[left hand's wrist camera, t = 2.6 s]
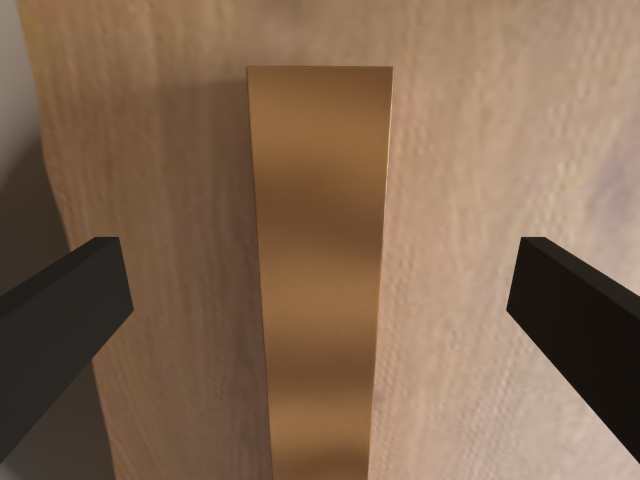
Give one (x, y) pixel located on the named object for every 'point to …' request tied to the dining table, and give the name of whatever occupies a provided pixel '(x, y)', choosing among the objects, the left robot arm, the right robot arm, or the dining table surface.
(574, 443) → the dining table surface
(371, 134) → the beam
